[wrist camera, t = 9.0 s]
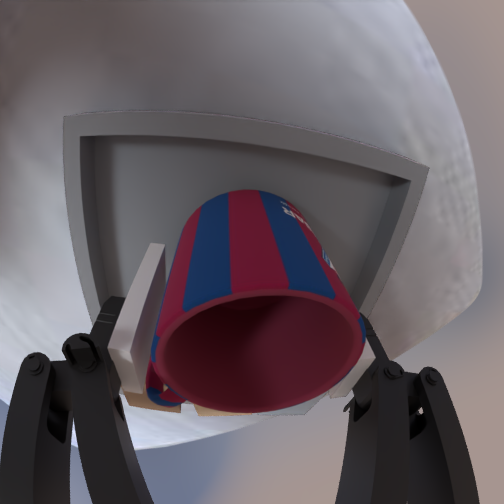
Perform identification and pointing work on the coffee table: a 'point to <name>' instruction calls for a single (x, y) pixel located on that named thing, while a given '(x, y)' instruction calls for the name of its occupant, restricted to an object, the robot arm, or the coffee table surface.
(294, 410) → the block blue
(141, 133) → the tray
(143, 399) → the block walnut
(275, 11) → the coffee table surface
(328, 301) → the mug
